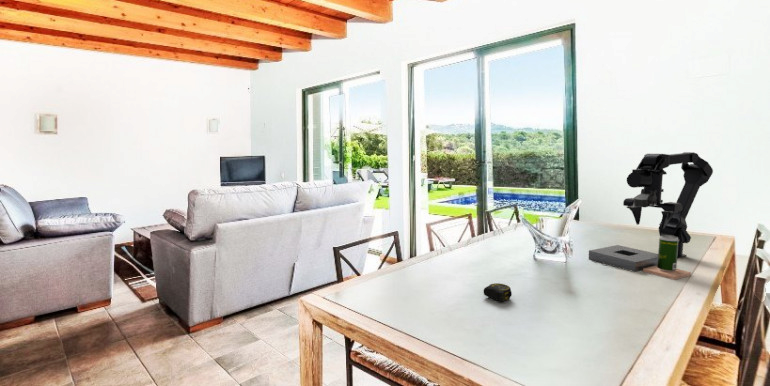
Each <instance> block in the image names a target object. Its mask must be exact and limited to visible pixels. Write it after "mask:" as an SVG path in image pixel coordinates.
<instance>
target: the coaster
mask: <svg viewBox="0 0 770 386" xmlns="http://www.w3.org/2000/svg"><path fill="white" fill-rule="evenodd" d="M642 272H645V273H647V274H650V275H651V274H652V275H655V276H659V277H662V278H667V279H671V280H674V281H675V280H678V279H682V278H686V277H688V276H691V275H692V272H691V271H687V270H684V269H683V270H682V269H680V268H676V271H675V272H663V271H660V270H659V269H658V267H657V265H656V266H652V267H648V268H644V269H643V270H642Z"/></svg>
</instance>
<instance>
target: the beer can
mask: <svg viewBox="0 0 770 386" xmlns="http://www.w3.org/2000/svg"><path fill="white" fill-rule="evenodd" d="M658 238H659V239H658V251H657V254H658V264H657V267H658V269H659V270H660V271H663V272H675V271H676V269H677V267H678V265H677V264H678V258H677V254H678V241H679V240H678V237H676V236H672V235H661V236H660V235H659V237H658Z"/></svg>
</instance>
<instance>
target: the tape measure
mask: <svg viewBox="0 0 770 386" xmlns="http://www.w3.org/2000/svg"><path fill="white" fill-rule="evenodd" d="M511 289H512V288H511V287H510V286H509V285H507V284H505V283H499V282H498V283H491V284H489V285H488V286H486V287H484V289H483V295H484V296H486V297H488V298H490V299H492V300H495V301H497V302H501V303H503V302H505V301H509V299H511V297H512V295H513V293H512V290H511Z"/></svg>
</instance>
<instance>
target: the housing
mask: <svg viewBox="0 0 770 386" xmlns="http://www.w3.org/2000/svg"><path fill="white" fill-rule="evenodd" d="M588 260H590V261H594V262H598V263H601V264H604V265H609V266H611V267H615V266H616V268H619V267H620V268H619V269H623V268H624V269H623V270H626V269H627V270H626V271H630V270H631V271H632V272H634V273H635V272H640V271H643V269H644V268H648V267H652V266H656V265H657V264H658V253H656V252H651V251H646V250H641V249H636V248H634V247H628V246H624V245H619V244H616V245H611V246H606V247H605V246H604V247H600V248H596V249H594V248H593V249H590V250H588ZM631 271H630V272H631Z"/></svg>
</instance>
